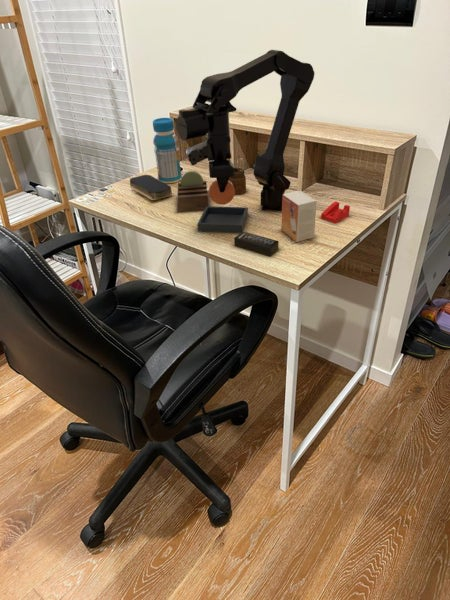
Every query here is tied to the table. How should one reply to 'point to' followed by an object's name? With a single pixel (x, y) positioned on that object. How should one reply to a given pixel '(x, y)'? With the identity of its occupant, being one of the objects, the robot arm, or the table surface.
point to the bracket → (335, 213)
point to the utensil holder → (238, 180)
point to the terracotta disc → (221, 193)
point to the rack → (192, 198)
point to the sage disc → (191, 179)
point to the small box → (298, 215)
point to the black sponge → (150, 187)
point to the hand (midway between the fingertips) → (221, 190)
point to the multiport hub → (256, 243)
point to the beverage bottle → (166, 151)
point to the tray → (223, 219)
